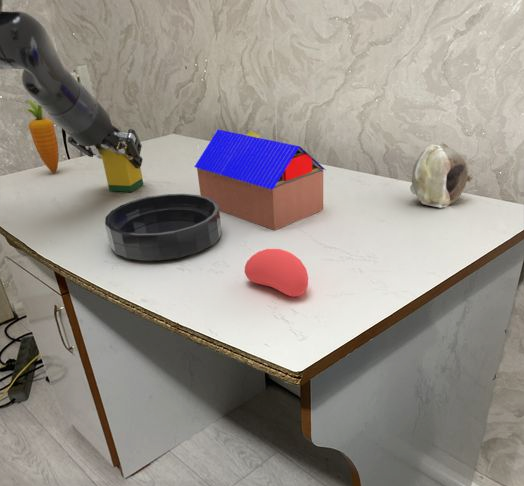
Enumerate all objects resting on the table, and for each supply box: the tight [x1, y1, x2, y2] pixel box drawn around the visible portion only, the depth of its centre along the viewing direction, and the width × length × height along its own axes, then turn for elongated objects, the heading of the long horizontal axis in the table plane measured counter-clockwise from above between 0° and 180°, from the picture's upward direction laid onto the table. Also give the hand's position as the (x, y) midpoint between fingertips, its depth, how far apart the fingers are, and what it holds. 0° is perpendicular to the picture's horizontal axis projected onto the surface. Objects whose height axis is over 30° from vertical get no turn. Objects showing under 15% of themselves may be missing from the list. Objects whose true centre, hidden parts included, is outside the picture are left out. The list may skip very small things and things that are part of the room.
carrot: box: [26, 99, 60, 173], centre depth 116 cm, size 5×5×15 cm
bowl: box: [104, 193, 223, 262], centre depth 83 cm, size 17×17×4 cm
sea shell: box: [410, 142, 474, 209], centre depth 88 cm, size 9×8×10 cm
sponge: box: [101, 144, 144, 193], centre depth 105 cm, size 5×5×8 cm
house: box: [194, 129, 326, 231], centre depth 91 cm, size 12×20×12 cm, turn 42°
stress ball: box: [244, 248, 309, 298], centre depth 68 cm, size 5×9×6 cm, turn 36°
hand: (126, 163), depth 107 cm, fingers closed on sponge, 5 cm apart
